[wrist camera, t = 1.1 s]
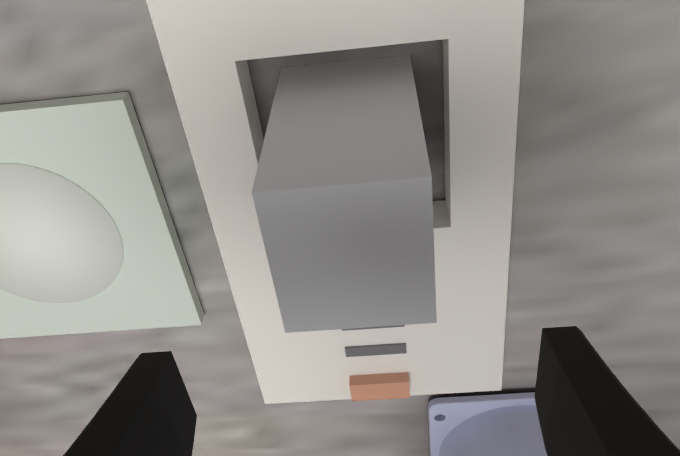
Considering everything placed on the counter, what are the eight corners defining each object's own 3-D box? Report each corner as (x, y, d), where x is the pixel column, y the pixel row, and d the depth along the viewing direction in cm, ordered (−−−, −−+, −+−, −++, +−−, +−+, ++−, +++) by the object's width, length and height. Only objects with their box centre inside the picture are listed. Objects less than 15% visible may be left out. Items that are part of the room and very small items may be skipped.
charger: (416, 178, 22) (436, 322, 16) (302, 188, 22) (285, 333, 17) (409, 54, 19) (431, 177, 14) (281, 67, 20) (251, 192, 14)
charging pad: (204, 314, 26) (201, 326, 26) (-24, 330, 27) (-32, 342, 26) (128, 91, 20) (121, 101, 20) (-161, 120, 21) (-175, 131, 20)
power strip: (494, 360, 28) (503, 400, 26) (269, 374, 28) (263, 413, 27) (516, -92, 17) (533, -74, 15) (152, -48, 18) (131, -27, 16)
